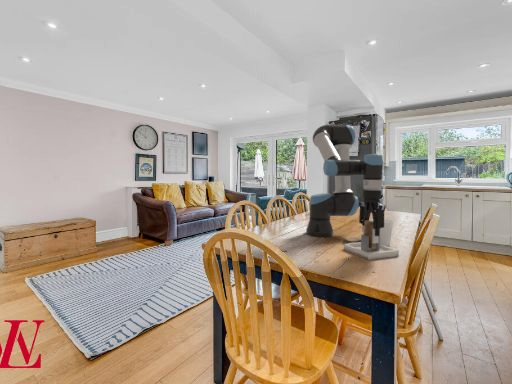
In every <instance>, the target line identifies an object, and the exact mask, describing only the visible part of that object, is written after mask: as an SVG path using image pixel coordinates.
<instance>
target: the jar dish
mask: <svg viewBox="0 0 512 384" xmlns="http://www.w3.org/2000/svg"><path fill="white" fill-rule="evenodd" d="M360 237H361V242H358V243H348V244H345V243H343V250H344V251H347V252H350V253H352V254H353V255H356V256H358V257H361V258H363V259H365V260H367V261H371V260H379V259H388V258H394V257H399V256H400V255H399V254H400V253H399V252H400V250H398V249H396V248H394V247H393V248H392V247H390V246H384V245H381V244H380V235H379V240H378V243H377V245H376V249H370V248H369V236H366V235H363V234H361V235H360ZM387 257H388V258H387Z"/></svg>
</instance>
